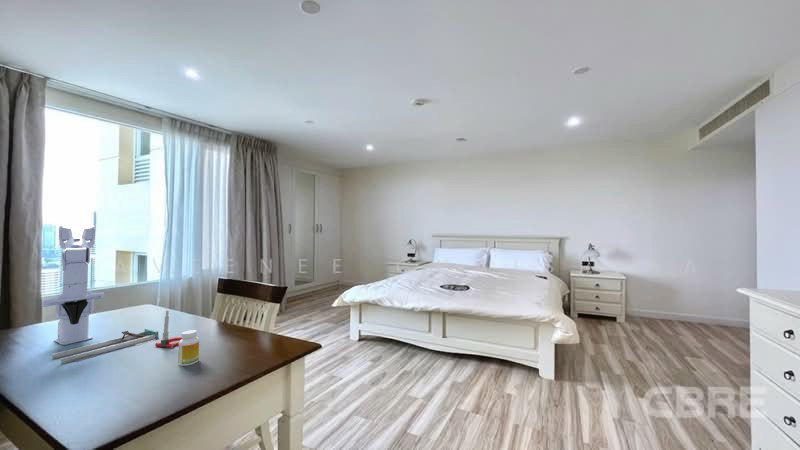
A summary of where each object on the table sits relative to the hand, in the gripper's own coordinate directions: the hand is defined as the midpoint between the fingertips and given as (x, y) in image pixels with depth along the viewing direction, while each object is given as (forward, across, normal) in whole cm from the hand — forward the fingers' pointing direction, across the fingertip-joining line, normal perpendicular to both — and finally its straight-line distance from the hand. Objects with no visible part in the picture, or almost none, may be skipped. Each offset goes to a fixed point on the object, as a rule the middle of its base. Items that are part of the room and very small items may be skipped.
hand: (74, 323), depth 103 cm
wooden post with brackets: (+10, +15, -5) cm, 19 cm away
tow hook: (+10, +21, -19) cm, 30 cm away
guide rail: (+10, +8, -4) cm, 13 cm away
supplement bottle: (+10, +14, -41) cm, 44 cm away
